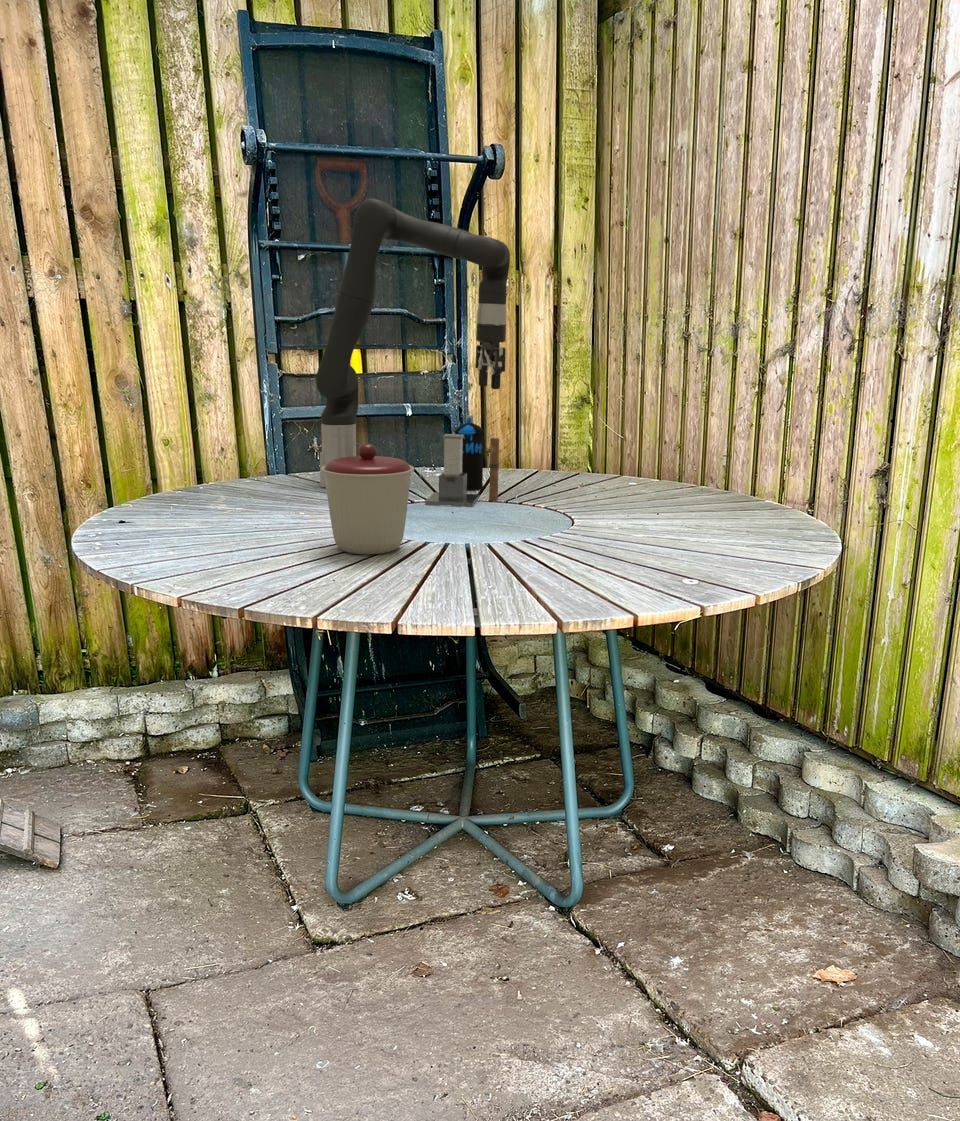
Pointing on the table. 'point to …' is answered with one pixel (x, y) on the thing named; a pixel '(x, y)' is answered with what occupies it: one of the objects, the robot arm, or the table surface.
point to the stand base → (452, 492)
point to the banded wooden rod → (494, 469)
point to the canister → (367, 501)
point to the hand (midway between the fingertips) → (489, 387)
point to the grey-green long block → (453, 454)
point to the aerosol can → (472, 453)
